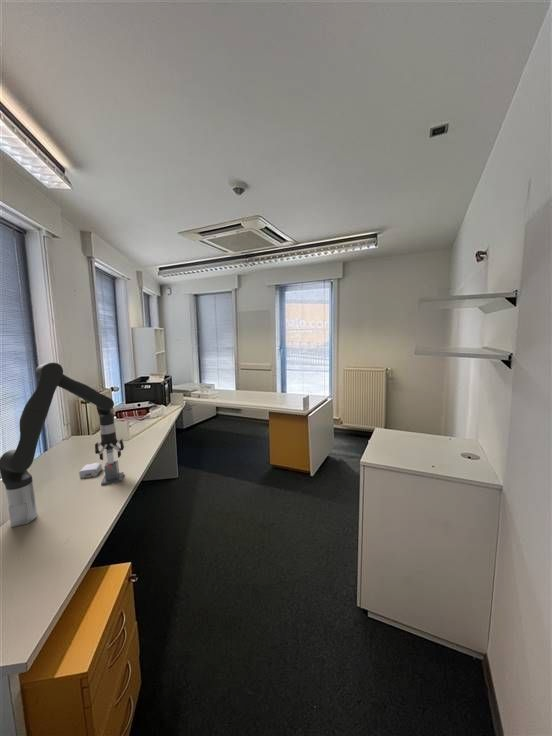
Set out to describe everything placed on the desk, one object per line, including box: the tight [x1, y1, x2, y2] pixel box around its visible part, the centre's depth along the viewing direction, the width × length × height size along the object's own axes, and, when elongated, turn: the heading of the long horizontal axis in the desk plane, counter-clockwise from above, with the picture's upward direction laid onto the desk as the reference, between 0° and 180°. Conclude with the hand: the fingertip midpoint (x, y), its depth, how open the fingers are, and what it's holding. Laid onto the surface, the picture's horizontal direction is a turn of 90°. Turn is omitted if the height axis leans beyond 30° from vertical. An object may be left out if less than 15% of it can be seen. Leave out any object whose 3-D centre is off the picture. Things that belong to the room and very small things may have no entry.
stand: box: [100, 460, 125, 486], centre depth 167 cm, size 10×10×10 cm
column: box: [105, 448, 116, 465], centre depth 167 cm, size 3×3×17 cm
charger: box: [78, 462, 103, 479], centre depth 179 cm, size 5×9×15 cm
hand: (110, 458), depth 166 cm, fingers open, 8 cm apart
